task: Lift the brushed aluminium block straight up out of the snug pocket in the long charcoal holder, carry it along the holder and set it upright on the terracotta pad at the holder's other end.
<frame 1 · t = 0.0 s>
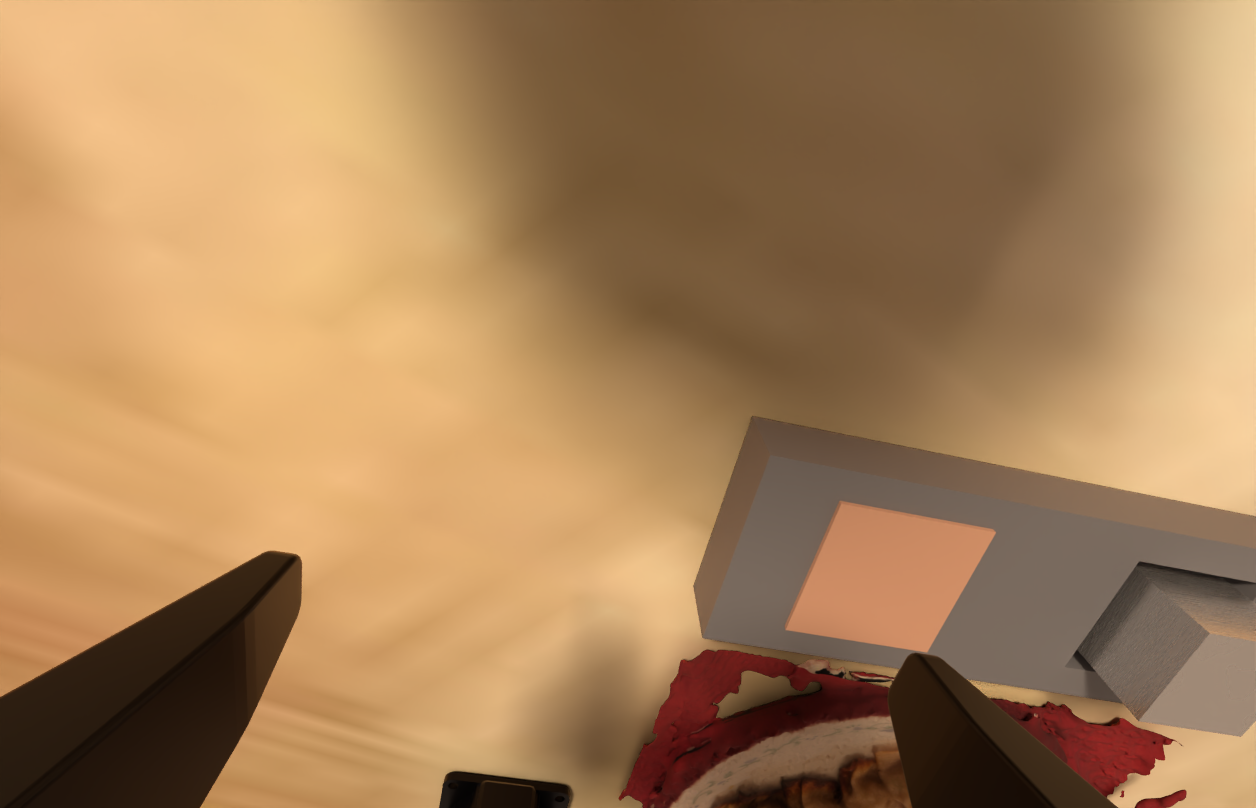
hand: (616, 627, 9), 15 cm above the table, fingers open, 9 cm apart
parts holder: (986, 554, 27), on the table
aluminium block: (1107, 575, 28), resting in parts holder
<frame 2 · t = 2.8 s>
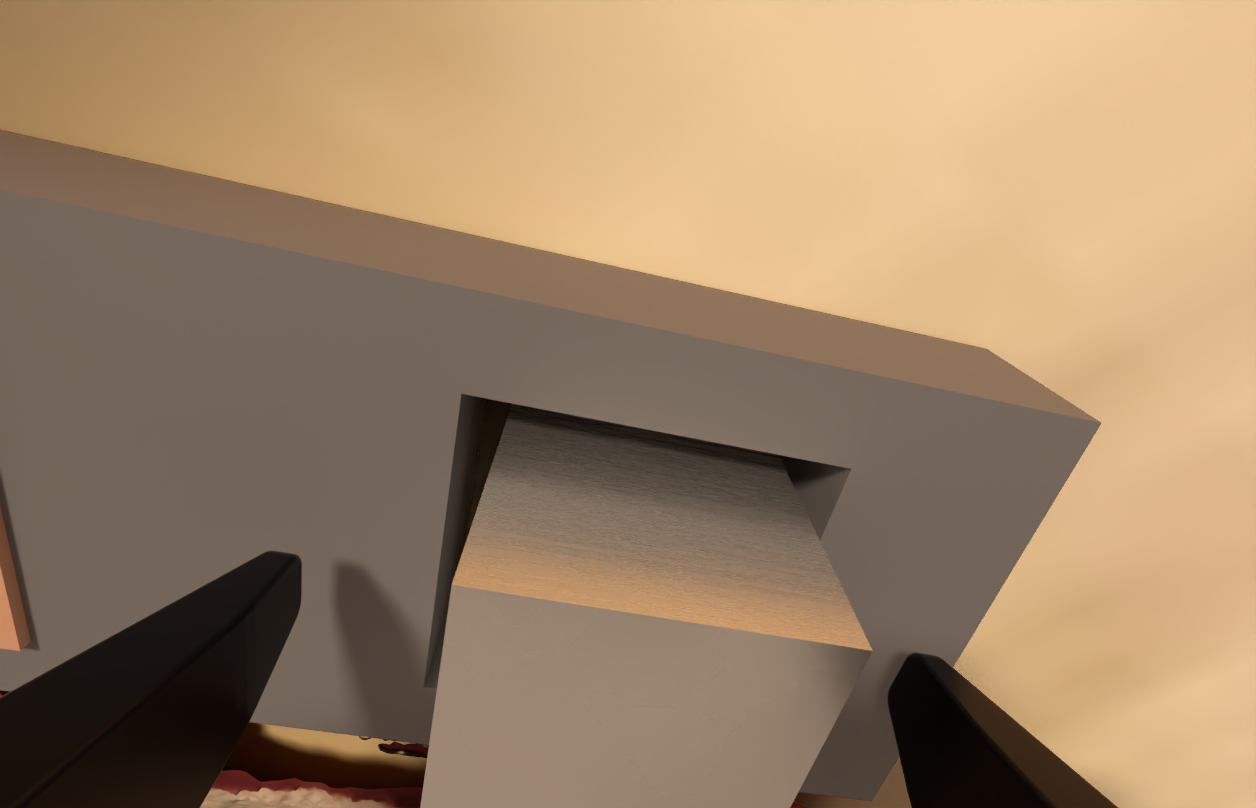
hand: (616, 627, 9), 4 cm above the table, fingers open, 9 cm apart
parts holder: (308, 427, 12), on the table
aluminium block: (617, 481, 13), resting in parts holder
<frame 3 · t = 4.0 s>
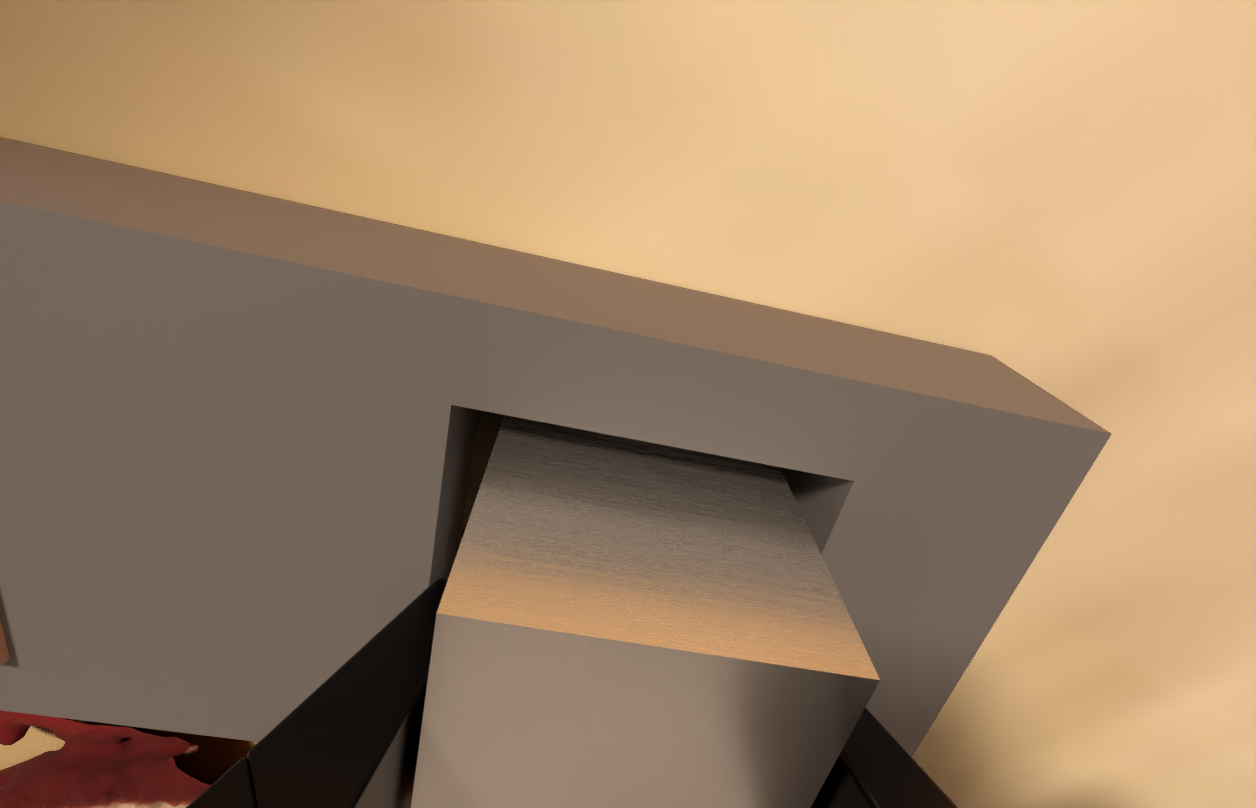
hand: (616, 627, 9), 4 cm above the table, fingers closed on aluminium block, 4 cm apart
parts holder: (297, 436, 12), on the table
aluminium block: (614, 492, 12), resting in parts holder, touching gripper
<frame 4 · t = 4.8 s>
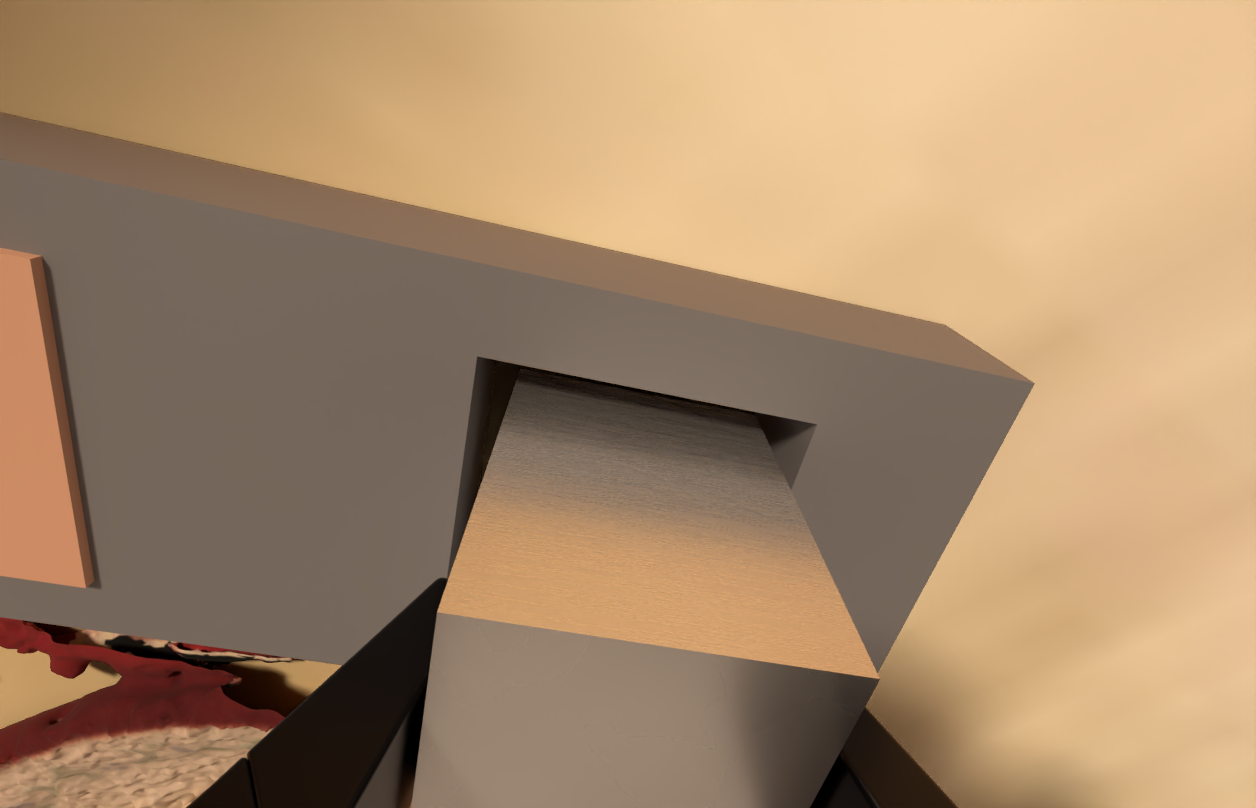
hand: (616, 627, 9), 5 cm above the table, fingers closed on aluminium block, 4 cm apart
parts holder: (335, 396, 13), on the table
aluminium block: (614, 492, 12), point 2 cm above the table, touching gripper
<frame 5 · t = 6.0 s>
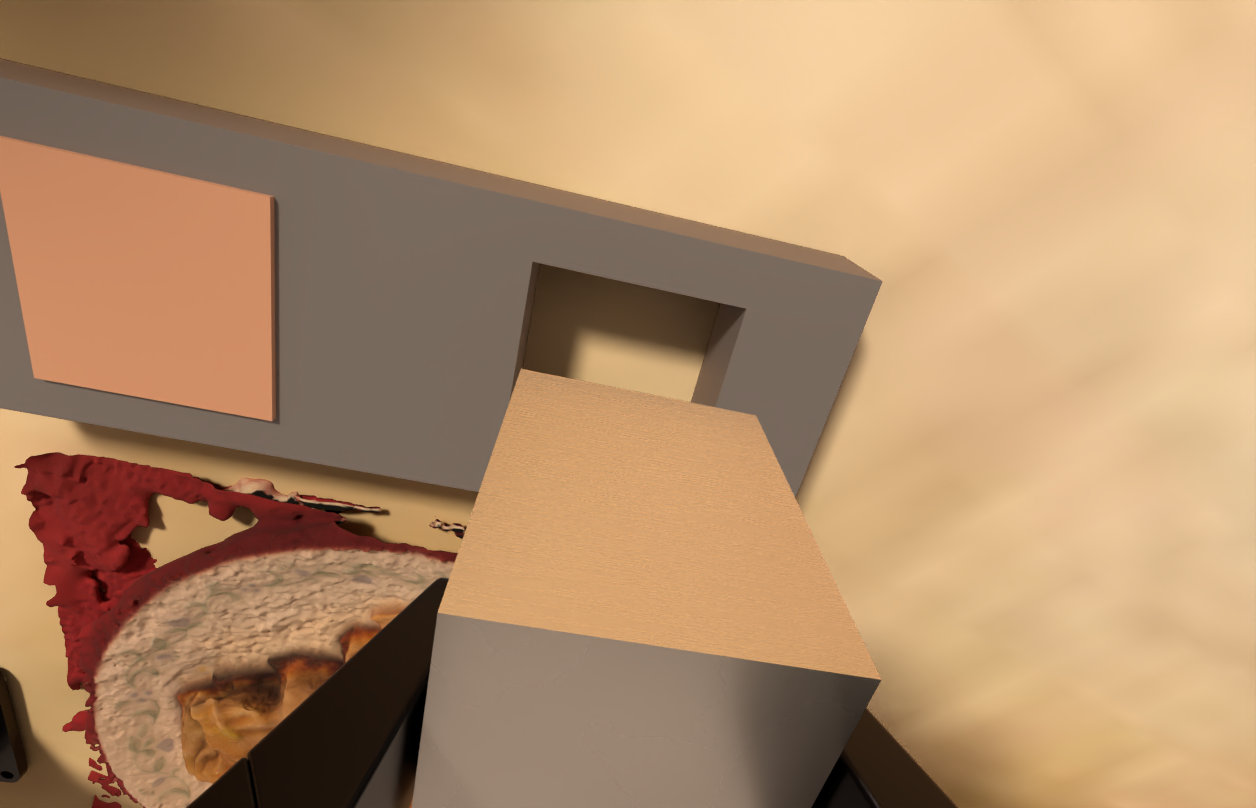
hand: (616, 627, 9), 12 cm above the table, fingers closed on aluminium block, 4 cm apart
parts holder: (424, 306, 19), on the table
aluminium block: (615, 492, 12), point 8 cm above the table, touching gripper
plate with food: (407, 719, 28), on the table
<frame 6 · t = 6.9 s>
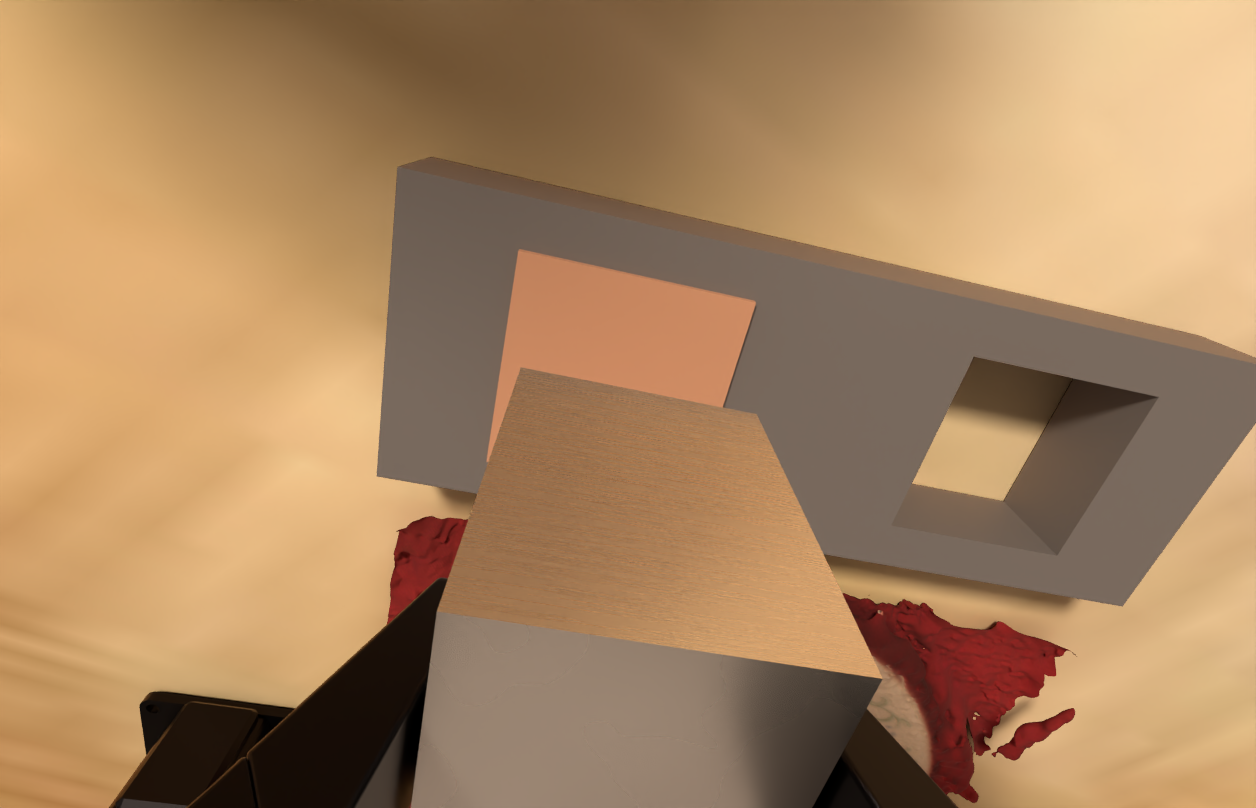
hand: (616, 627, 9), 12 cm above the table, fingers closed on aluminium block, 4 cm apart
parts holder: (796, 382, 20), on the table
aluminium block: (615, 491, 12), point 8 cm above the table, touching gripper
plate with food: (667, 754, 29), on the table
when the fingers open (8 cm above the table, at t = 8.3 s): aluminium block stays where it is, resting on parts holder.
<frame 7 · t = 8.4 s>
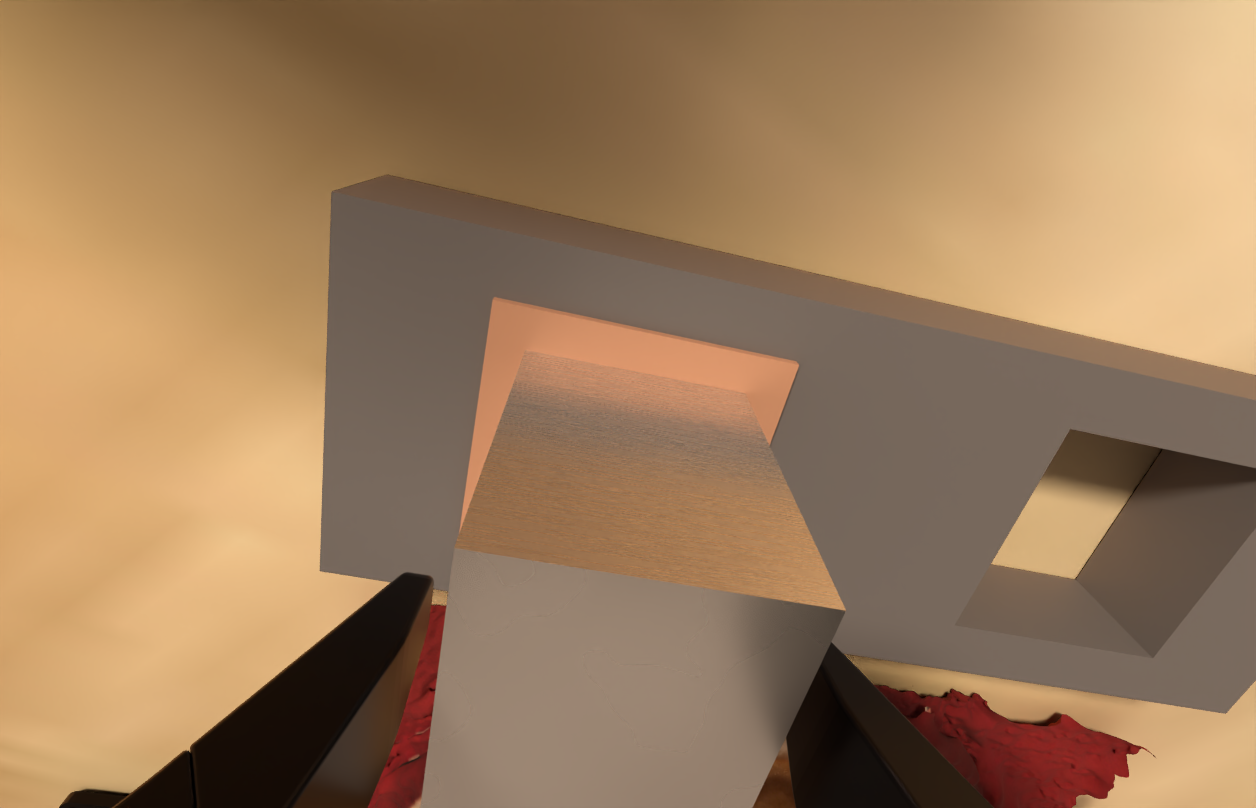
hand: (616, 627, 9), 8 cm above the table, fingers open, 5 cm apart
parts holder: (835, 445, 17), on the table
aluminium block: (614, 467, 13), point 3 cm above the table, touching parts holder
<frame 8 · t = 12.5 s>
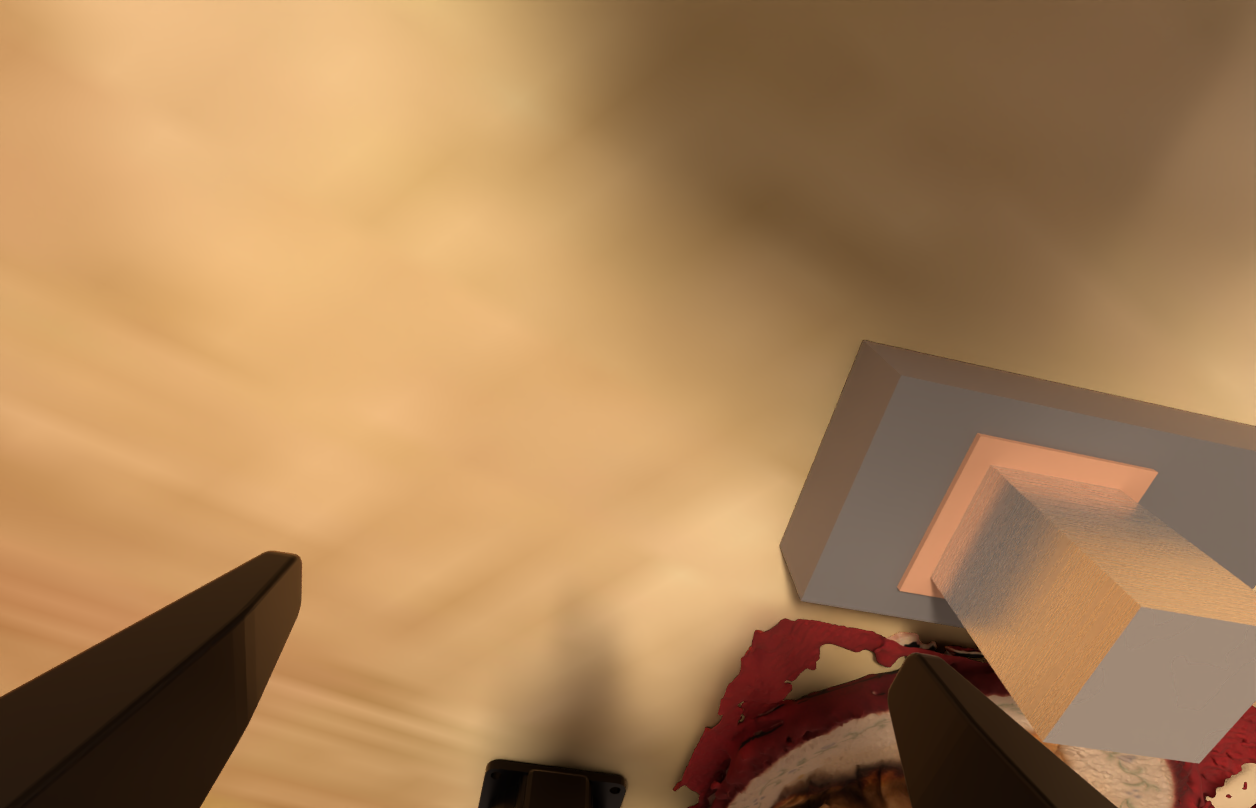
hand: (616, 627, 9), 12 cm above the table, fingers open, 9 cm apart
parts holder: (1116, 509, 24), on the table
aluminium block: (1021, 534, 20), point 3 cm above the table, touching parts holder
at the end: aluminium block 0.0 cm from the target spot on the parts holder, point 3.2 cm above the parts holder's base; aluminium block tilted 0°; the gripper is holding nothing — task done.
